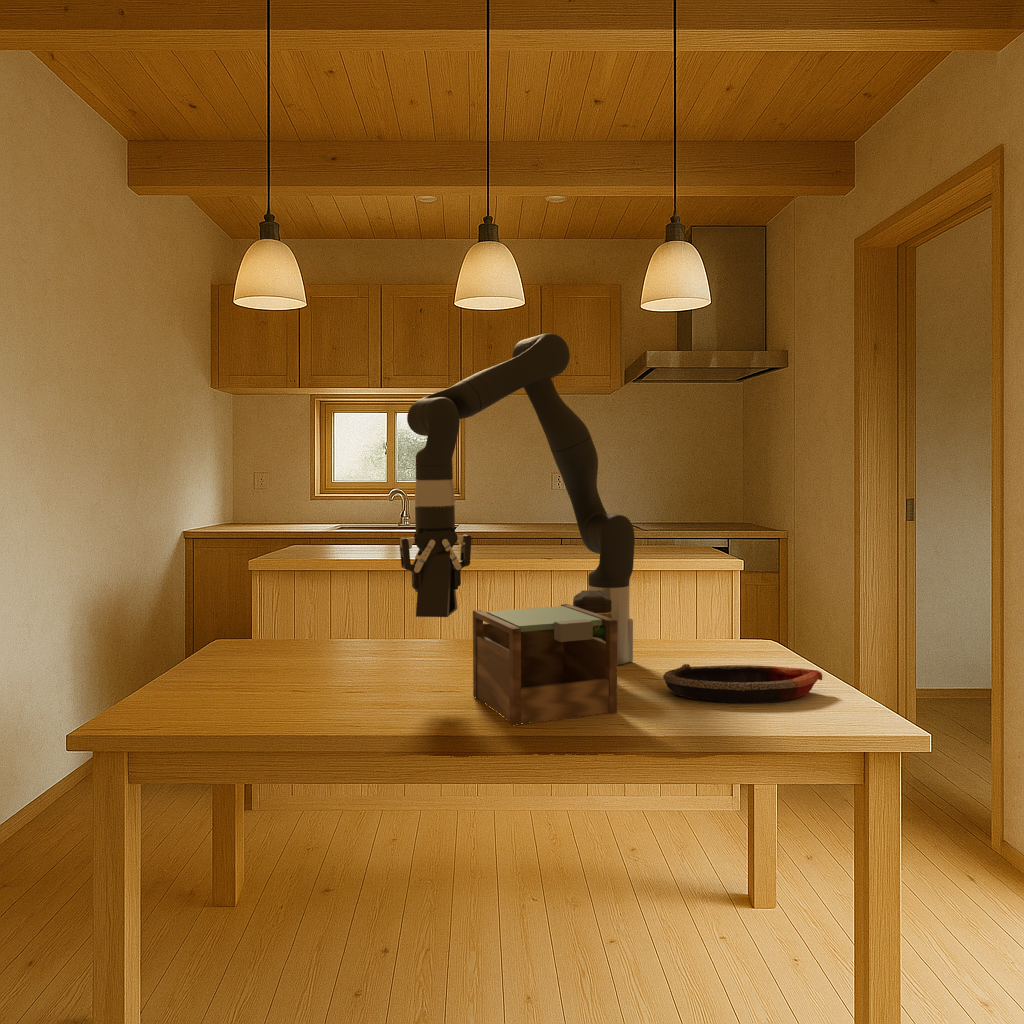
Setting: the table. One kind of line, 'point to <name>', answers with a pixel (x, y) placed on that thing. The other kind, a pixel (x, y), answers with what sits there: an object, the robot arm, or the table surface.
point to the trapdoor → (552, 621)
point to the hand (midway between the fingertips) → (436, 590)
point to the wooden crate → (543, 671)
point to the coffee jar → (595, 608)
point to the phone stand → (436, 587)
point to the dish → (741, 682)
